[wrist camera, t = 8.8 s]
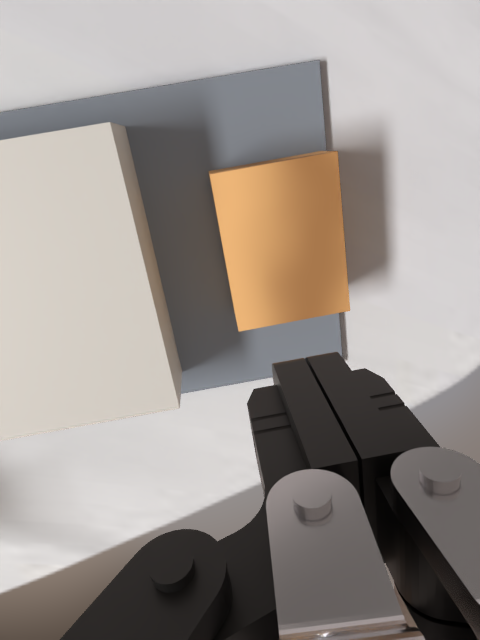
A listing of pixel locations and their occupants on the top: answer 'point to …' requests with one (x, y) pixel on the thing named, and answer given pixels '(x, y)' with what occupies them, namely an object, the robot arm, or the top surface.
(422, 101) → the top surface
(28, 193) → the white rectangular block
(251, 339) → the mat
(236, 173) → the orange flat block
